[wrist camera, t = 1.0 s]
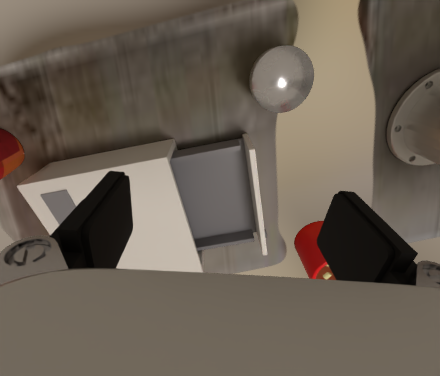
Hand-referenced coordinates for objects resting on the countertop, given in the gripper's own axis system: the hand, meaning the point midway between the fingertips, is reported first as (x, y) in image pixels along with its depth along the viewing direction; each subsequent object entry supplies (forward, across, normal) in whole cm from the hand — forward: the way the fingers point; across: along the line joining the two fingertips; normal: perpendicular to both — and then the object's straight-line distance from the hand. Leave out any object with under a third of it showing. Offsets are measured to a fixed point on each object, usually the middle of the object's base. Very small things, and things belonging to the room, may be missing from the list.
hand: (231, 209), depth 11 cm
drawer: (+21, +2, +12) cm, 25 cm away
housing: (+21, +11, +15) cm, 28 cm away
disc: (+18, -6, -5) cm, 20 cm away
